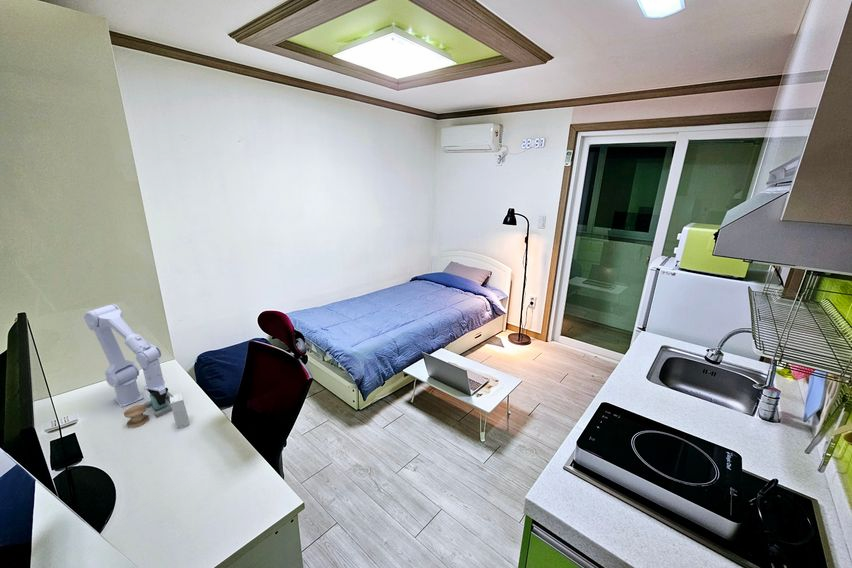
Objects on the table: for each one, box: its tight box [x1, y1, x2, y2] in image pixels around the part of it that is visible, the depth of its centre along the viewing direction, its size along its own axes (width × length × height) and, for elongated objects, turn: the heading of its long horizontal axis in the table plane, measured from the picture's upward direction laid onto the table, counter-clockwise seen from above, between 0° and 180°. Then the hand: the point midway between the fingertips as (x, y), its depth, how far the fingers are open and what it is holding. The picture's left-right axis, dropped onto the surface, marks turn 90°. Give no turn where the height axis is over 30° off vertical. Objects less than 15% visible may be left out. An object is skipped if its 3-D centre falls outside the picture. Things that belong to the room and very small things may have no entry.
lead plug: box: [149, 393, 168, 411], centre depth 147 cm, size 4×4×7 cm
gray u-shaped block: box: [144, 391, 174, 418], centre depth 148 cm, size 12×9×3 cm
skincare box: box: [169, 392, 190, 429], centre depth 138 cm, size 6×4×12 cm
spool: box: [123, 404, 150, 428], centre depth 139 cm, size 7×7×6 cm
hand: (160, 402), depth 147 cm, fingers closed on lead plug, 4 cm apart
